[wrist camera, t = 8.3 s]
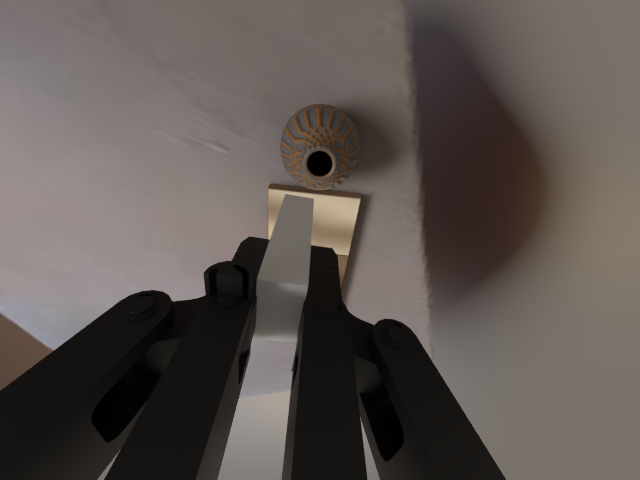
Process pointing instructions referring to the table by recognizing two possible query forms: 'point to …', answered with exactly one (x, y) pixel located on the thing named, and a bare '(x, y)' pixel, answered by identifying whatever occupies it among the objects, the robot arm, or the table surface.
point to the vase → (320, 147)
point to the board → (322, 218)
